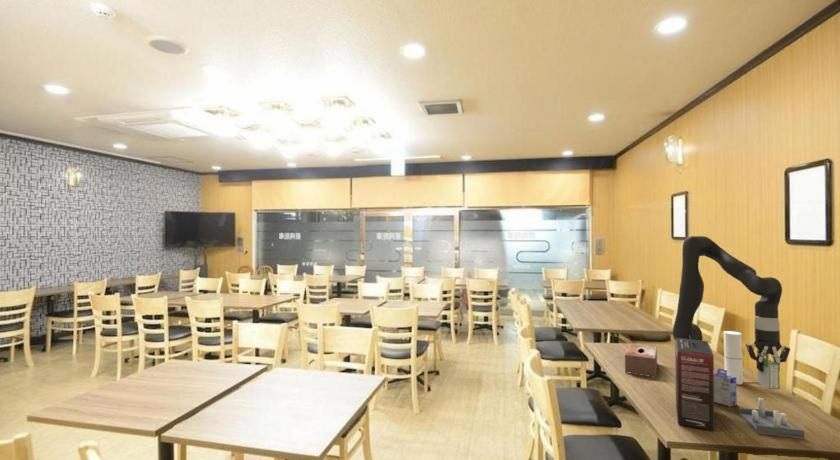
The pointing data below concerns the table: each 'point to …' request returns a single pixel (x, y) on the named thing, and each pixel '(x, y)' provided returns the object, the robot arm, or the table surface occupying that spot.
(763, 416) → the tray
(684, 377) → the headset box
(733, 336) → the cylindrical container
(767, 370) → the ink box
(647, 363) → the tissue box cover
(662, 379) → the table surface
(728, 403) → the ink cartridge box
